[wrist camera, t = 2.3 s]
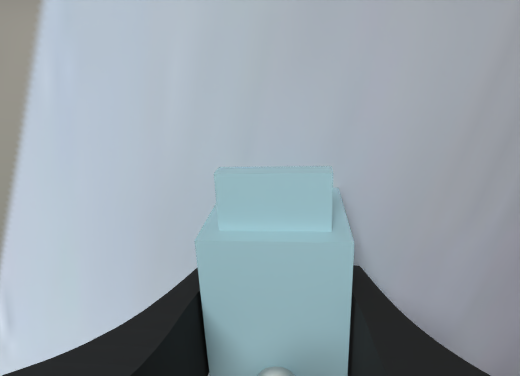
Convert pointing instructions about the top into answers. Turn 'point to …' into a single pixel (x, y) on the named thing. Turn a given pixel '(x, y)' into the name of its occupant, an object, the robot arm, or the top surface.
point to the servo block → (276, 273)
